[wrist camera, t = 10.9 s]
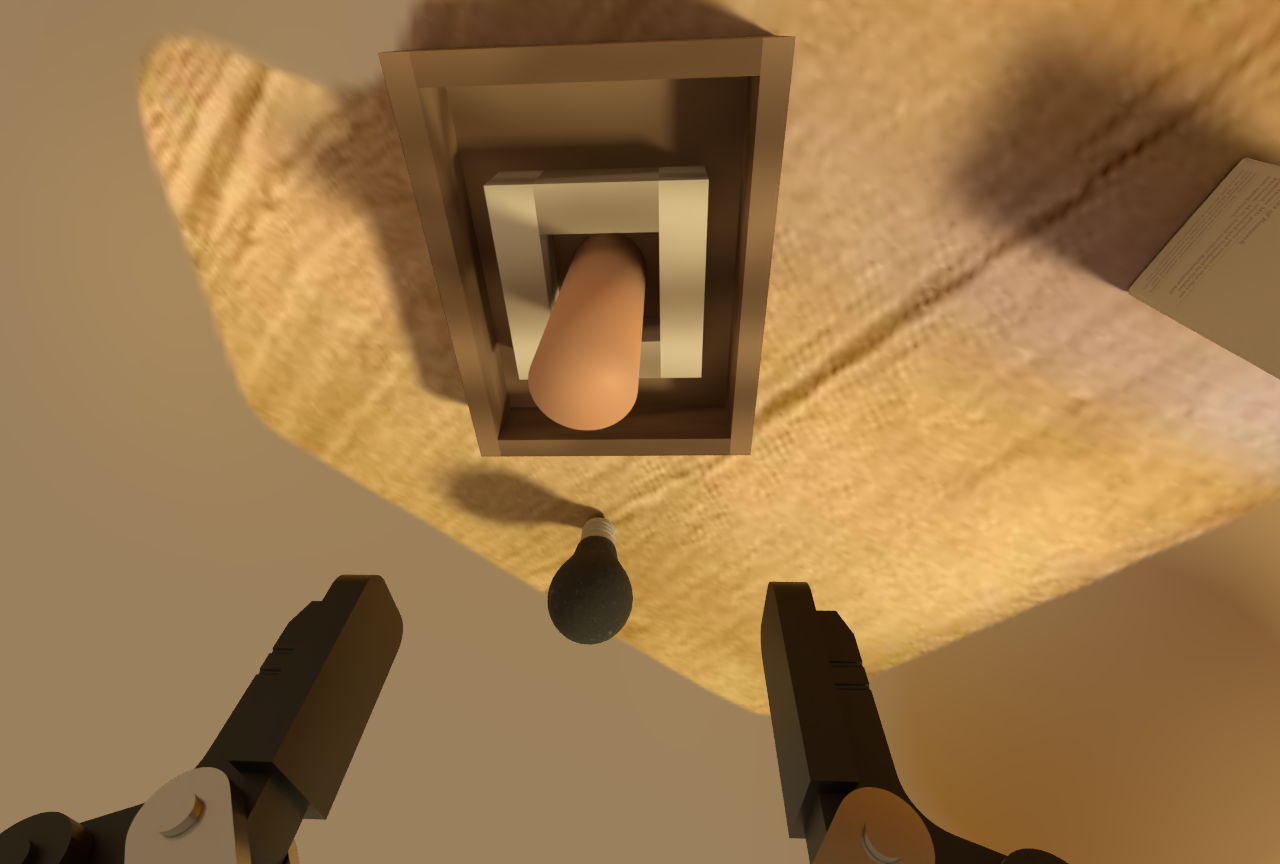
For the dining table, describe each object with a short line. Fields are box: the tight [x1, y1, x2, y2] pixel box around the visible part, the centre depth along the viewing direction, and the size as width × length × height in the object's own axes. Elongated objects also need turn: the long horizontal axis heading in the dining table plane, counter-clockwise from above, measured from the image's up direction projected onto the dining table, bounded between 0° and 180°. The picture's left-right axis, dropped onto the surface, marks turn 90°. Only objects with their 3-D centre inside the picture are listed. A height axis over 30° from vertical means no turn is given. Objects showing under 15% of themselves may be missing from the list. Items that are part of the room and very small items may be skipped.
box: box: [378, 36, 795, 457], centre depth 29 cm, size 20×16×4 cm
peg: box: [528, 233, 646, 430], centre depth 25 cm, size 4×4×12 cm
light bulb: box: [548, 517, 633, 644], centre depth 38 cm, size 6×6×10 cm
